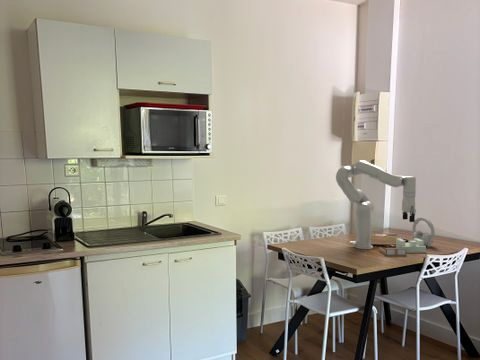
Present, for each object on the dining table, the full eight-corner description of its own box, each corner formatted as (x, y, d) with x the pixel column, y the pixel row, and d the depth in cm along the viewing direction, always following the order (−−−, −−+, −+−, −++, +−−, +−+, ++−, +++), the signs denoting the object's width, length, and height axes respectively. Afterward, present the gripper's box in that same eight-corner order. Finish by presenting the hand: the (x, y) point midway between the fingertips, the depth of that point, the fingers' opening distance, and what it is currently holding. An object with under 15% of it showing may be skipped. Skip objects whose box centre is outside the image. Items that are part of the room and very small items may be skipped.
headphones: (437, 247, 268) (438, 219, 266) (428, 248, 265) (428, 220, 264) (417, 242, 286) (418, 215, 285) (408, 242, 283) (409, 216, 282)
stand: (395, 248, 267) (396, 238, 267) (417, 248, 267) (417, 238, 266) (402, 252, 255) (403, 242, 255) (425, 252, 255) (425, 242, 254)
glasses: (379, 250, 260) (379, 244, 260) (398, 250, 260) (398, 244, 260) (385, 255, 247) (386, 248, 247) (406, 255, 247) (406, 248, 247)
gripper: (397, 193, 262) (397, 218, 263) (409, 196, 245) (408, 222, 246) (408, 193, 262) (408, 218, 263) (421, 196, 245) (420, 222, 246)
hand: (408, 220), depth 255 cm, fingers open, 9 cm apart
